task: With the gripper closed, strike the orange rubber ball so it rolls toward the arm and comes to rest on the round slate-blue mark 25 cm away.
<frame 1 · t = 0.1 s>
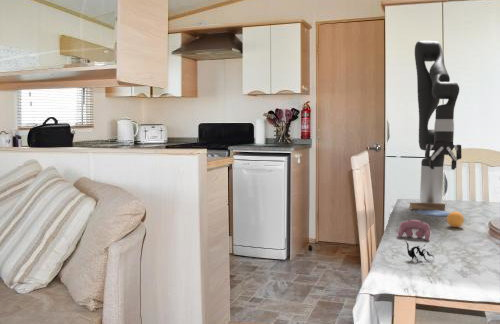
hand: (442, 169, 208), 17 cm above the table, tool pointing down, fingers open, 8 cm apart
creature: (421, 261, 138), on the table
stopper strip: (427, 209, 211), on the table
mark: (433, 212, 203), on the table
video game controller: (414, 238, 163), on the table
ball: (455, 219, 178), on the table
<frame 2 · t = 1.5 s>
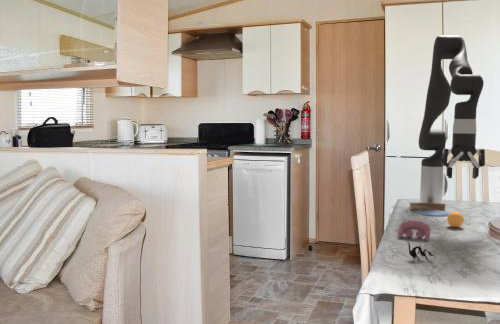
hand: (462, 178, 176), 18 cm above the table, tool pointing down, fingers open, 8 cm apart
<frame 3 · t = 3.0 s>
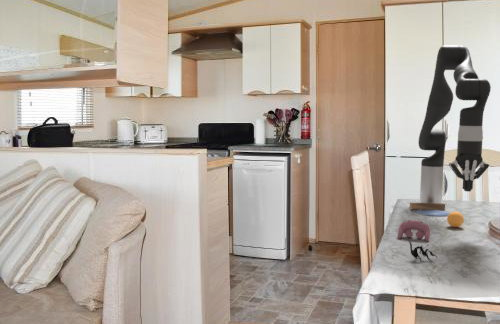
hand: (467, 191, 168), 15 cm above the table, tool pointing down, fingers closed
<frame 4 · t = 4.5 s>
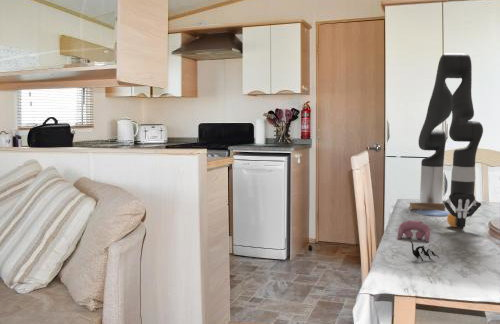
hand: (460, 228, 174), 1 cm above the table, tool pointing down, fingers closed
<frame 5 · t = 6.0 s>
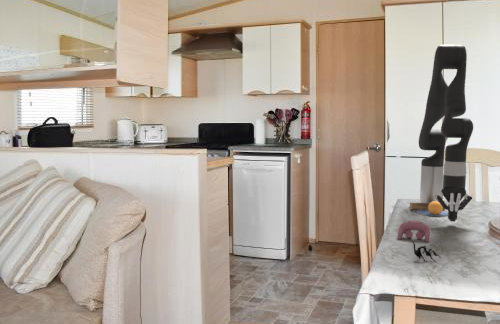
hand: (452, 221, 181), 2 cm above the table, tool pointing down, fingers closed
ball: (435, 207, 200), on the table
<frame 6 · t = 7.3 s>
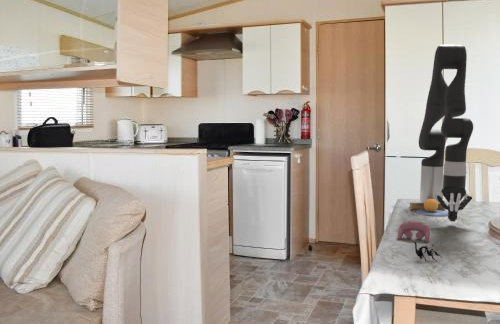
hand: (452, 221, 181), 2 cm above the table, tool pointing down, fingers closed
ball: (430, 205, 205), on the table
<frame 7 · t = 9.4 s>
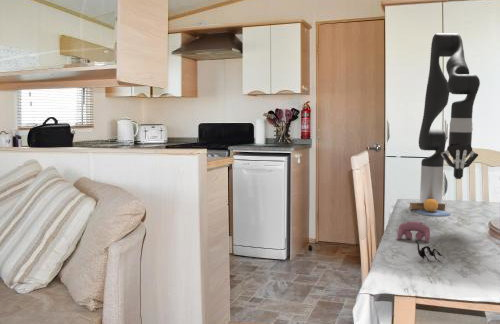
hand: (457, 178, 181), 17 cm above the table, tool pointing down, fingers closed
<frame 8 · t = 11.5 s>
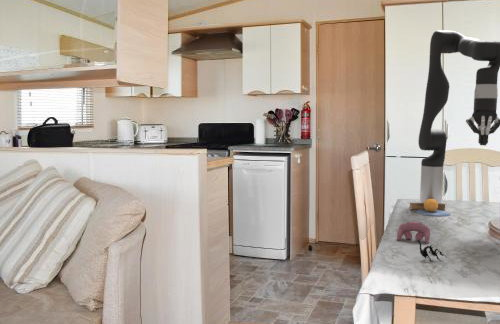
hand: (482, 145, 182), 29 cm above the table, tool pointing down, fingers closed
at the end: ball 2.3 cm from the mark (horizontally); ball at rest at the end (0.0 cm/s); ball moved 27.3 cm from its start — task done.
